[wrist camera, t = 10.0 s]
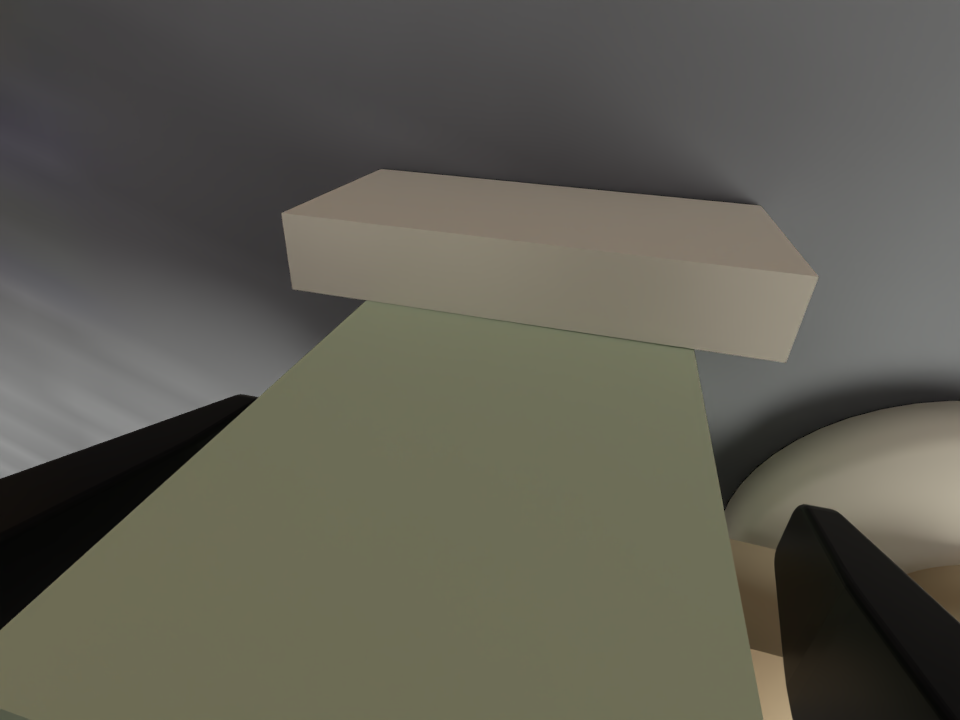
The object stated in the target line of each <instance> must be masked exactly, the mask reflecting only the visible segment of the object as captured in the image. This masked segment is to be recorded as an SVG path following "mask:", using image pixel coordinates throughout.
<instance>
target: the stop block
mask: <svg viewBox="0 0 960 720" xmlns="http://www.w3.org/2000/svg"><path fill="white" fill-rule="evenodd" d="M0 720H763V715H762V709H761V704H760V699H759V693H758V688H757V683H756V677H755V672H754V667H753V661H752V656H751V651H750V645H749V640H748V635H747V629H746V624H745V619H744V613H743V608H742V603H741V597H740V592H739V587H738V582H737V576H736V571H735V566H734V560H733V555H732V550H731V544H730V539H729V534H728V528H727V523H726V518H725V512H724V507H723V502H722V496H721V491H720V486H719V480H718V475H717V470H716V464H715V459H714V454H713V448H712V443H711V438H710V432H709V427H708V422H707V416H706V411H705V406H704V401H703V395H702V390H701V385H700V379H699V374H698V369H697V363H696V358H695V353H694V349H690V348H683V347H676V346H669V345H663V344H656V343H649V342H643V341H636V340H629V339H622V338H616V337H609V336H602V335H596V334H589V333H582V332H575V331H569V330H562V329H555V328H549V327H542V326H535V325H528V324H522V323H515V322H508V321H502V320H495V319H488V318H482V317H475V316H468V315H461V314H455V313H448V312H441V311H435V310H428V309H421V308H414V307H408V306H401V305H394V304H388V303H381V302H374V301H367V300H366V301H365V302H364V303H363V304H362V305H361V306H360V307H359V308H357V309H356V310H355V311H354V312H353V313H352V314H351V315H350V316H349V317H347V318H346V319H345V320H344V321H343V322H342V323H341V324H340V325H339V326H337V327H336V328H335V329H334V330H333V331H332V332H331V333H330V334H329V335H327V336H326V337H325V338H324V339H323V340H322V341H321V342H320V343H319V344H317V345H316V346H315V347H314V348H313V349H312V350H311V351H310V352H309V353H307V354H306V355H305V356H304V357H303V358H302V359H301V360H300V361H299V362H297V363H296V364H295V365H294V366H293V367H292V368H291V369H290V370H289V371H287V372H286V373H285V374H284V375H283V376H282V377H281V378H280V379H279V380H277V381H276V382H275V383H274V384H273V385H272V386H271V387H270V388H269V389H267V390H266V391H265V392H264V393H263V394H262V395H261V396H260V397H259V398H257V399H256V400H255V401H254V402H253V403H252V404H251V405H250V406H249V407H247V408H246V409H245V410H244V411H243V412H242V413H241V414H240V415H239V416H237V417H236V418H235V419H234V420H233V421H232V422H231V423H230V424H229V425H227V426H226V427H225V428H224V429H223V430H222V431H221V432H220V433H219V434H217V435H216V436H215V437H214V438H213V439H212V440H211V441H210V442H209V443H207V444H206V445H205V446H204V447H203V448H202V449H201V450H200V451H199V452H197V453H196V454H195V455H194V456H193V457H192V458H191V459H190V460H189V461H187V462H186V463H185V464H184V465H183V466H182V467H181V468H180V469H179V470H178V471H176V472H175V473H174V474H173V475H172V476H171V477H170V478H169V479H168V480H166V481H165V482H164V483H163V484H162V485H161V486H160V487H159V488H158V489H156V490H155V491H154V492H153V493H152V494H151V495H150V496H149V497H148V498H146V499H145V500H144V501H143V502H142V503H141V504H140V505H139V506H138V507H136V508H135V509H134V510H133V511H132V512H131V513H130V514H129V515H128V516H126V517H125V518H124V519H123V520H122V521H121V522H120V523H119V524H118V525H116V526H115V527H114V528H113V529H112V530H111V531H110V532H109V533H108V534H106V535H105V536H104V537H103V538H102V539H101V540H100V541H99V542H98V543H96V544H95V545H94V546H93V547H92V548H91V549H90V550H89V551H88V552H86V553H85V554H84V555H83V556H82V557H81V558H80V559H79V560H78V561H76V562H75V563H74V564H73V565H72V566H71V567H70V568H69V569H68V570H66V571H65V572H64V573H63V574H62V575H61V576H60V577H59V578H58V579H56V580H55V581H54V582H53V583H52V584H51V585H50V586H49V587H48V588H46V589H45V590H44V591H43V592H42V593H41V594H40V595H39V596H38V597H36V598H35V599H34V600H33V601H32V602H31V603H30V604H29V605H28V606H26V607H25V608H24V609H23V610H22V611H21V612H20V613H19V614H18V615H16V616H15V617H14V618H13V619H12V620H11V621H10V622H9V623H8V624H6V625H5V626H4V627H3V628H2V629H1V630H0Z"/></svg>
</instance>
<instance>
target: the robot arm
mask: <svg viewBox="0 0 960 720" xmlns="http://www.w3.org/2000/svg"><path fill="white" fill-rule="evenodd" d="M257 398H259V397H255V396H249V395H243V394H239V395H235V396H232V397H229V398H226V399H224V400H221V401H218V402H215V403H212V404H210V405H207V406H204V407H201V408H198V409H196V410H193V411H190V412H187V413H184V414H181V415H179V416H176V417H173V418H170V419H167V420H165V421H162V422H159V423H156V424H153V425H151V426H148V427H145V428H142V429H139V430H136V431H134V432H131V433H128V434H125V435H122V436H120V437H117V438H114V439H111V440H108V441H106V442H103V443H100V444H97V445H94V446H91V447H89V448H86V449H83V450H80V451H77V452H75V453H72V454H69V455H66V456H63V457H61V458H58V459H55V460H52V461H49V462H46V463H44V464H41V465H38V466H35V467H32V468H30V469H27V470H24V471H21V472H18V473H16V474H13V475H10V476H7V477H4V478H1V479H0V630H1V629H2V628H3V627H4V626H5V625H6V624H8V623H9V622H10V621H11V620H12V619H13V618H14V617H15V616H16V615H18V614H19V613H20V612H21V611H22V610H23V609H24V608H25V607H26V606H28V605H29V604H30V603H31V602H32V601H33V600H34V599H35V598H36V597H38V596H39V595H40V594H41V593H42V592H43V591H44V590H45V589H46V588H48V587H49V586H50V585H51V584H52V583H53V582H54V581H55V580H56V579H58V578H59V577H60V576H61V575H62V574H63V573H64V572H65V571H66V570H68V569H69V568H70V567H71V566H72V565H73V564H74V563H75V562H76V561H78V560H79V559H80V558H81V557H82V556H83V555H84V554H85V553H86V552H88V551H89V550H90V549H91V548H92V547H93V546H94V545H95V544H96V543H98V542H99V541H100V540H101V539H102V538H103V537H104V536H105V535H106V534H108V533H109V532H110V531H111V530H112V529H113V528H114V527H115V526H116V525H118V524H119V523H120V522H121V521H122V520H123V519H124V518H125V517H126V516H128V515H129V514H130V513H131V512H132V511H133V510H134V509H135V508H136V507H138V506H139V505H140V504H141V503H142V502H143V501H144V500H145V499H146V498H148V497H149V496H150V495H151V494H152V493H153V492H154V491H155V490H156V489H158V488H159V487H160V486H161V485H162V484H163V483H164V482H165V481H166V480H168V479H169V478H170V477H171V476H172V475H173V474H174V473H175V472H176V471H178V470H179V469H180V468H181V467H182V466H183V465H184V464H185V463H186V462H187V461H189V460H190V459H191V458H192V457H193V456H194V455H195V454H196V453H197V452H199V451H200V450H201V449H202V448H203V447H204V446H205V445H206V444H207V443H209V442H210V441H211V440H212V439H213V438H214V437H215V436H216V435H217V434H219V433H220V432H221V431H222V430H223V429H224V428H225V427H226V426H227V425H229V424H230V423H231V422H232V421H233V420H234V419H235V418H236V417H237V416H239V415H240V414H241V413H242V412H243V411H244V410H245V409H246V408H247V407H249V406H250V405H251V404H252V403H253V402H254V401H255V400H256V399H257ZM774 570H775V581H776V591H777V602H778V612H779V623H780V633H781V644H782V654H783V665H784V673H785V682H786V688H787V694H788V699H789V705H790V710H791V715H792V719H793V720H960V622H959V621H958V620H957V619H956V618H954V617H953V616H952V615H951V614H950V613H949V612H948V611H947V610H946V609H945V608H943V607H942V606H941V605H940V604H939V603H938V602H937V601H936V600H935V599H934V598H933V597H931V596H930V595H929V594H928V593H927V592H926V591H925V590H924V589H923V588H922V587H920V586H919V585H918V584H917V583H916V582H915V581H914V580H913V579H912V578H911V577H910V576H908V575H907V574H906V573H905V572H904V571H903V570H902V569H901V568H900V567H899V566H897V565H896V564H895V563H894V562H893V561H892V560H891V559H890V558H889V557H888V556H887V555H885V554H884V553H883V552H882V551H881V550H880V549H879V548H878V547H877V546H876V545H874V544H873V543H872V542H871V541H870V540H869V539H868V538H867V537H866V536H865V535H864V534H862V533H861V532H860V531H859V530H858V529H857V528H856V527H855V526H854V525H853V524H851V523H850V522H849V521H848V520H847V519H846V518H845V517H844V516H843V515H841V514H840V513H839V512H837V511H836V510H833V509H829V508H824V507H819V506H813V505H808V504H802V505H799V506H797V507H796V508H795V510H794V511H793V513H792V515H791V517H790V520H789V522H788V524H787V526H786V528H785V530H784V532H783V535H782V537H781V539H780V541H779V543H778V545H777V548H776V551H775V557H774Z"/></svg>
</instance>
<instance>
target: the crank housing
mask: <svg viewBox="0 0 960 720" xmlns="http://www.w3.org/2000/svg"><path fill="white" fill-rule="evenodd" d="M281 215H282V221H283V228H284V235H285V242H286V249H287V256H288V263H289V269H290V276H291V283H292V289H294V290H300V291H307V292H314V293H320V294H327V295H334V296H341V297H347V298H354V299H361V300H367V301H374V302H381V303H388V304H394V305H401V306H408V307H414V308H421V309H428V310H435V311H441V312H448V313H455V314H461V315H468V316H475V317H482V318H488V319H495V320H502V321H508V322H515V323H522V324H528V325H535V326H542V327H549V328H555V329H562V330H569V331H575V332H582V333H589V334H596V335H602V336H609V337H616V338H622V339H629V340H636V341H643V342H649V343H656V344H663V345H669V346H676V347H683V348H690V349H696V350H703V351H710V352H716V353H723V354H730V355H736V356H743V357H750V358H757V359H763V360H770V361H777V362H783V363H786V361H787V359H788V356H789V353H790V351H791V348H792V345H793V343H794V340H795V338H796V335H797V332H798V330H799V327H800V325H801V322H802V319H803V317H804V314H805V311H806V309H807V306H808V304H809V301H810V298H811V296H812V293H813V290H814V288H815V285H816V283H817V280H818V277H819V276H818V275H817V274H816V273H815V272H814V270H813V269H812V268H811V267H810V265H809V264H808V263H807V262H806V261H805V259H804V258H803V257H802V256H801V254H800V253H799V252H798V251H797V249H796V248H795V247H794V246H793V245H792V243H791V242H790V241H789V240H788V238H787V237H786V236H785V235H784V233H783V232H782V231H781V230H780V229H779V227H778V226H777V225H776V224H775V222H774V221H773V220H772V219H771V218H770V216H769V215H768V214H767V213H766V211H765V210H764V209H763V208H762V206H759V205H748V204H738V203H728V202H717V201H707V200H697V199H686V198H676V197H666V196H655V195H645V194H635V193H624V192H614V191H604V190H593V189H583V188H573V187H562V186H552V185H542V184H531V183H521V182H511V181H500V180H490V179H480V178H469V177H459V176H449V175H438V174H428V173H418V172H407V171H397V170H386V169H380V170H377V171H375V172H373V173H371V174H368V175H366V176H364V177H362V178H359V179H357V180H355V181H353V182H350V183H348V184H346V185H344V186H341V187H339V188H337V189H334V190H332V191H330V192H328V193H325V194H323V195H321V196H319V197H316V198H314V199H312V200H310V201H307V202H305V203H303V204H301V205H298V206H296V207H294V208H291V209H289V210H287V211H285V212H282V213H281ZM802 504H808V505H813V506H819V507H824V508H829V509H833V510H836V511H837V512H839V513H840V514H841V515H843V516H844V517H845V518H846V519H847V520H848V521H849V522H850V523H851V524H853V525H854V526H855V527H856V528H857V529H858V530H859V531H860V532H861V533H862V534H864V535H865V536H866V537H867V538H868V539H869V540H870V541H871V542H872V543H873V544H874V545H876V546H877V547H878V548H879V549H880V550H881V551H882V552H883V553H884V554H885V555H887V556H888V557H889V558H890V559H891V560H892V561H893V562H894V563H895V564H896V565H897V566H899V567H900V568H901V569H902V570H903V571H904V572H905V573H906V574H908V573H911V572H915V571H918V570H923V569H928V568H933V567H940V566H949V565H960V401H942V402H929V403H917V404H910V405H904V406H898V407H893V408H887V409H881V410H877V411H874V412H870V413H866V414H862V415H858V416H855V417H851V418H848V419H845V420H843V421H840V422H837V423H834V424H832V425H829V426H826V427H823V428H821V429H819V430H817V431H815V432H813V433H811V434H809V435H807V436H804V437H802V438H800V439H798V440H796V441H795V442H793V443H791V444H790V445H788V446H787V447H785V448H783V449H782V450H780V451H779V452H777V453H775V454H774V455H773V456H771V457H770V458H769V459H768V460H766V461H765V462H764V463H763V464H761V465H760V466H759V467H758V468H756V469H755V470H754V471H753V472H752V473H751V474H750V476H749V477H748V478H747V479H746V480H745V481H744V482H743V483H742V484H741V485H740V486H739V488H738V489H737V491H736V492H735V494H734V495H733V496H732V498H731V499H730V501H729V503H728V505H727V507H726V509H725V511H724V512H725V518H726V523H727V528H728V534H729V539H733V540H737V541H742V542H746V543H750V544H754V545H759V546H763V547H767V548H771V549H776V548H777V545H778V543H779V541H780V539H781V537H782V535H783V532H784V530H785V528H786V526H787V524H788V522H789V520H790V517H791V515H792V513H793V511H794V510H795V508H796V507H797V506H799V505H802Z"/></svg>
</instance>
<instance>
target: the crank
mask: <svg viewBox="0 0 960 720" xmlns="http://www.w3.org/2000/svg"><path fill="white" fill-rule="evenodd" d="M730 544H731V550H732V555H733V560H734V566H735V571H736V576H737V582H738V587H739V592H740V597H741V603H742V608H743V613H744V619H745V624H746V629H747V635H748V640H749V645H750V651H751V656H752V661H753V667H754V672H755V677H756V683H757V688H758V693H759V699H760V704H761V709H762V715H763V720H793V719H792V715H791V710H790V705H789V699H788V694H787V688H786V682H785V673H784V665H783V654H782V644H781V633H780V623H779V612H778V602H777V591H776V581H775V570H774V557H775V551H776V549H771V548H767V547H763V546H759V545H754V544H750V543H746V542H742V541H737V540H733V539H730ZM907 575H908V576H910V577H911V578H912V579H913V580H914V581H915V582H916V583H917V584H918V585H919V586H920V587H922V588H923V589H924V590H925V591H926V592H927V593H928V594H929V595H930V596H931V597H933V598H934V599H935V600H936V601H937V602H938V603H939V604H940V605H941V606H942V607H943V608H945V609H946V610H947V611H948V612H949V613H950V614H951V615H952V616H953V617H954V618H956V619H957V620H958V621H959V622H960V565H949V566H940V567H933V568H928V569H923V570H918V571H915V572H911V573H908V574H907Z"/></svg>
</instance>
